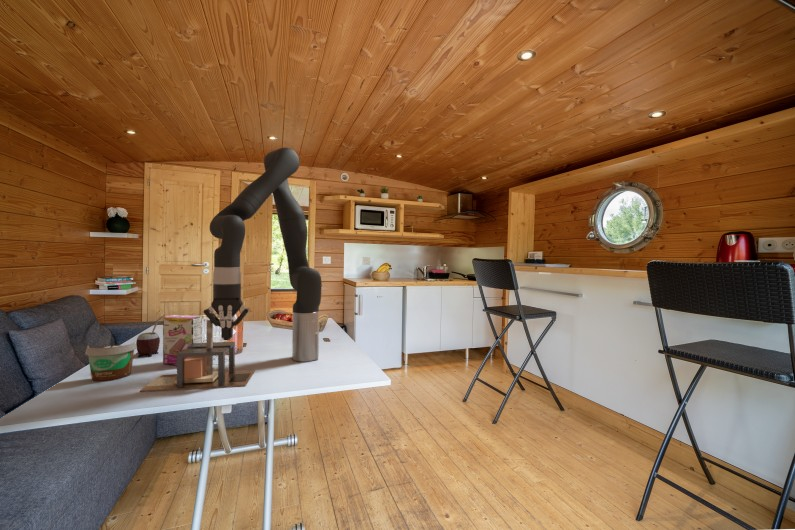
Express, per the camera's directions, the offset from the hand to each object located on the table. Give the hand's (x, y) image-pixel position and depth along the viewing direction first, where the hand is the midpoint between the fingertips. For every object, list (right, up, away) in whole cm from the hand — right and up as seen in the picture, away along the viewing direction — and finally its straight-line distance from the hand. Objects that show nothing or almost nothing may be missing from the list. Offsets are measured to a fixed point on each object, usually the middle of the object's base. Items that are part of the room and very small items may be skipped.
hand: (227, 339), depth 104 cm
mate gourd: (-41, -11, +25) cm, 49 cm away
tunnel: (-7, -12, -1) cm, 14 cm away
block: (-9, -10, -1) cm, 14 cm away
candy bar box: (-23, -12, +15) cm, 30 cm away
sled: (-8, -11, -1) cm, 14 cm away
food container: (-35, -12, 0) cm, 37 cm away
